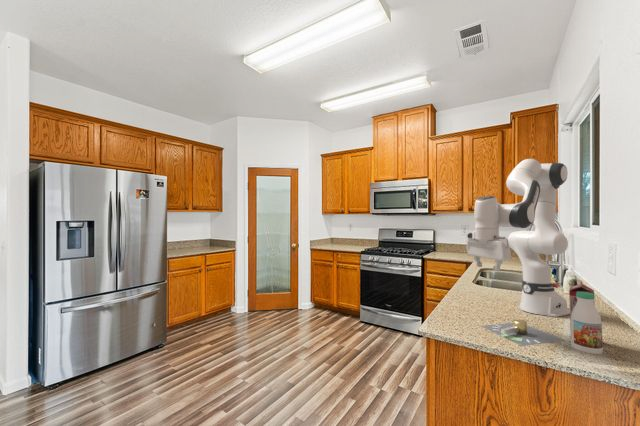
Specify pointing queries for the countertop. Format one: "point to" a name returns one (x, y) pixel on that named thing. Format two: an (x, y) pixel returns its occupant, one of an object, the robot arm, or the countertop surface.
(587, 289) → the milk carton
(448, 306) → the countertop surface
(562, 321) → the countertop surface
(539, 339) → the dial board
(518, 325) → the tuner knob with pointer
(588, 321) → the milk bottle
